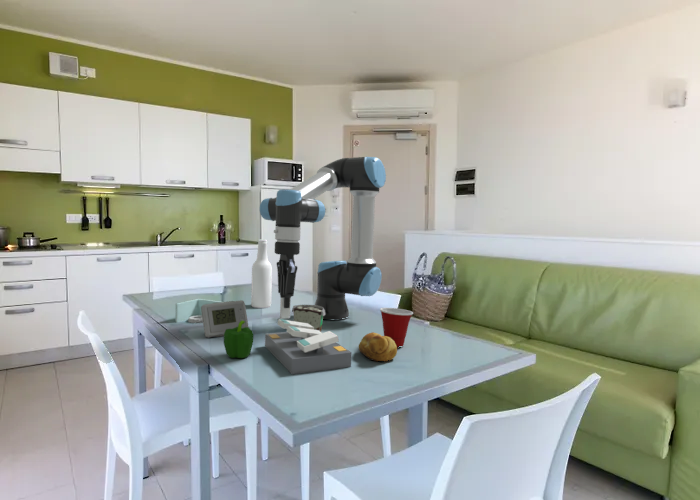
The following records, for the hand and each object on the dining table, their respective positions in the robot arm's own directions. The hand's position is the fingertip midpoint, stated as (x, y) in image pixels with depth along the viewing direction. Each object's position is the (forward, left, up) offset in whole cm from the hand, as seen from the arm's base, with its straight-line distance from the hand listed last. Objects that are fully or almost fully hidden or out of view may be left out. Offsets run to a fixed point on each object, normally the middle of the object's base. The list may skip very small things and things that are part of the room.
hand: (285, 317), depth 133 cm
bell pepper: (+14, +3, -10) cm, 18 cm away
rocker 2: (-4, +9, -3) cm, 10 cm away
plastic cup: (-35, +9, -10) cm, 37 cm away
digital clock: (+14, -23, -10) cm, 28 cm away
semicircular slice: (-14, -12, -10) cm, 21 cm away
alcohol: (-10, -63, -10) cm, 65 cm away
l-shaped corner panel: (+19, -44, -10) cm, 49 cm away
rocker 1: (-4, 0, -3) cm, 5 cm away
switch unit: (-4, +9, -10) cm, 14 cm away
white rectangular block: (-4, +18, -3) cm, 18 cm away
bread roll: (-23, +17, -10) cm, 30 cm away
